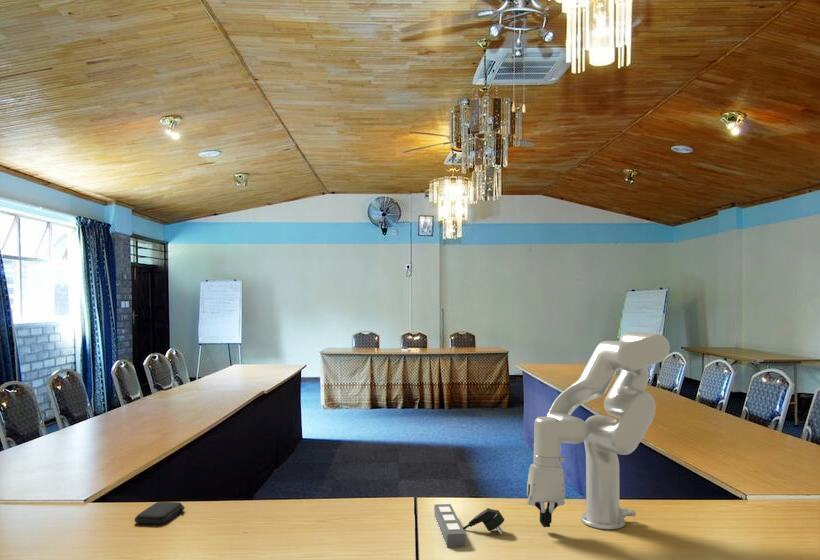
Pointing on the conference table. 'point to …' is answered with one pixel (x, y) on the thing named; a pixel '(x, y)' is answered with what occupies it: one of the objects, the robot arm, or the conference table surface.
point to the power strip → (449, 525)
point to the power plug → (488, 520)
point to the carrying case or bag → (159, 513)
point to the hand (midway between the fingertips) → (545, 525)
